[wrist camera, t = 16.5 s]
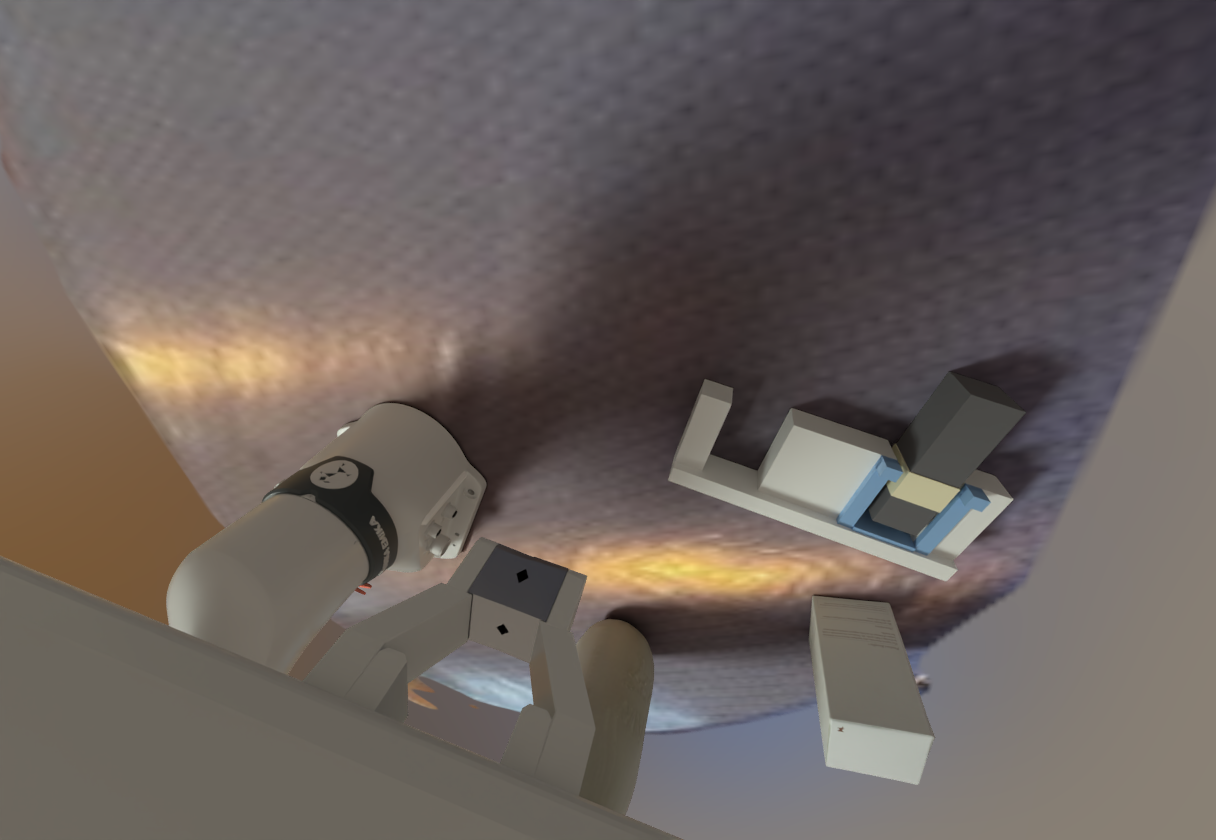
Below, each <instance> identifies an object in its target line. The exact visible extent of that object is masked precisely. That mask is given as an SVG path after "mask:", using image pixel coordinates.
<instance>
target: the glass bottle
mask: <svg viewBox="0 0 1216 840" xmlns="http://www.w3.org/2000/svg"><path fill="white" fill-rule="evenodd" d="M576 648H577V652H578V656H579V661H580V665H581V669H582V673H583V677H584V682H585V686H586V690H587V694H588V698H589V703H590V707H591V711H592V715H593V719H594V724H595V728H596V729H595V733H594V737H593V741H592V745H591V749H590V753H589V757H588V761H587V765H586V769H585V773H584V777H583V781H582V785H581V789H580V793H579V796H580V797H582V798H584V799H587V800H589V801H592V802H594V803H596V804H599V805H601V806H604V807H606V808H608V809H611V810H613V811H616V812H618V813H621V814H623V815H626V812H627V810H628V807H629V804H630V801H631V799H632V795H633V792H634V788H635V784H636V779H637V775H638V769H639V764H640V759H641V753H642V748H643V741H644V735H645V729H646V723H647V717H648V712H649V706H650V701H651V695H652V689H653V682H654V662H653V656H652V652H651V649H650V647H649V644H648V642H647V640H646V639H645V637H644V636H643V635H642V634H641V633H640V632H639V631H638V630H637V629H636V628H634V627H633V626H632V625H630V624H629V623H627V622H624V621H621V620H615V619H606V620H602V621H600V622H597V623H596V624H594V625H592V626H591V627H590V628H589V629H588V630H587V631H586V632H585V633H584V635H583V636H582V637H581V638H580V640H579V641H578V643H577V644H576Z"/></svg>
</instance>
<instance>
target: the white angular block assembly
mask: <svg viewBox="0 0 1216 840" xmlns="http://www.w3.org/2000/svg"><path fill="white" fill-rule="evenodd" d="M732 396H733V388H731V387H728V386H725V385H722V384H719V383H716V382H713V381H710V380H707V379H704V382H703V384H702V387H701V390H700V392H699V395H698V397H697V400H696V402H695V405H694V407H693V410H692V412H691V415H690V417H689V420H688V423H687V425H686V428H685V430H684V433H683V435H682V438H681V440H680V443H679V445H678V448H677V450H676V453H675V456H674V459H673V463H672V467H671V471H670V474H669V478H668V481H671V482H674V483H676V484H679V485H682V486H685V487H687V488H690V489H693V490H696V491H698V492H701V493H704V494H707V495H709V496H712V497H715V498H718V499H720V500H723V501H726V502H729V503H731V504H734V505H737V506H740V507H742V508H745V509H748V510H751V511H753V512H756V513H759V514H762V515H764V516H767V517H770V518H773V519H775V520H778V521H781V522H784V523H786V524H789V525H792V526H795V527H797V528H800V529H803V530H806V531H808V532H811V533H814V534H817V535H819V536H822V537H825V538H828V539H830V540H833V541H836V542H839V543H841V544H844V545H847V546H850V547H852V548H855V549H858V550H861V551H863V552H866V553H869V554H872V555H875V556H877V557H880V558H883V559H886V560H888V561H891V562H894V563H897V564H899V565H902V566H905V567H908V568H910V569H913V570H916V571H919V572H921V573H924V574H927V575H930V576H932V577H935V578H938V579H941V580H943V581H947V580H948V579H949V578H950V577H951V576H952V575H953V574H954V573H955V572H956V571H957V570H958V569H957V567H956V565H955V563H954V561H953V560H954V559H955V558H956V557H957V556H958V555H959V554H960V553H961V552H962V551H963V550H964V549H965V548H966V547H967V546H968V545H969V544H970V543H971V542H972V541H973V540H974V539H975V538H976V537H977V536H978V535H979V534H980V533H981V532H982V531H983V530H984V529H985V528H986V527H987V526H988V525H989V524H990V523H991V522H992V521H993V520H994V519H995V518H996V517H997V516H998V515H999V514H1000V513H1001V512H1002V511H1003V510H1004V509H1005V508H1006V507H1007V506H1008V505H1009V504H1010V503H1011V502H1012V501H1013V500H1014V499H1013V498H1012V497H1011V496H1010V494H1009V493H1008V492H1007V490H1006V489H1005V488H1004V487H1003V485H1002V484H1001V483H1000V481H999V480H998V479H997V477H996V476H994V475H991V474H988V473H985V472H982V471H979V470H976V469H975V471H974V472H973V473H972V474H971V475H970V476H969V477H968V478H967V480H966V481H965V482H964V483H963V484H962V485H961V486H960V491H959V492H958V493H957V494H956V495H955V497H954V498H953V499H952V500H951V501H950V502H949V503H948V504H947V506H946V507H945V508H944V509H943V510H942V511H941V512H940V513H939V512H937V513H936V515H935V516H934V517H933V518H932V519H931V520H930V521H929V522H928V524H927V525H926V526H925V527H924V528H923V529H922V530H921V531H920V533H919V534H918V535H917V536H914V535H911V534H909V533H906V532H903V531H900V530H897V529H895V528H892V527H889V526H886V525H884V524H881V523H878V522H875V521H872V518H871V515H870V512H869V509H868V506H869V505H870V504H871V502H872V501H873V500H874V498H875V497H876V496H877V494H878V493H879V492H880V490H881V489H882V488H883V486H884V485H885V484H886V482H887V481H888V480H890V481H892V482H895V483H896V482H897V480H898V479H899V478H900V476H901V475H902V474H903V470H902V468H901V466H900V464H899V462H898V460H897V458H896V456H895V454H894V452H893V450H892V448H891V446H890V444H889V442H888V440H886V439H883V438H880V437H877V436H874V435H871V434H868V433H865V432H863V431H860V430H857V429H854V428H851V427H848V426H845V425H842V424H839V423H836V422H833V421H830V420H827V419H824V418H821V417H818V416H815V415H812V414H809V413H806V412H803V411H800V410H797V409H794V408H791V409H790V411H789V413H788V415H787V416H786V418H785V420H784V422H783V424H782V426H781V428H780V429H779V431H778V433H777V435H776V437H775V439H774V441H773V443H772V444H771V446H770V448H769V450H768V452H767V454H766V456H765V457H764V459H763V461H762V463H761V465H760V467H759V469H758V471H757V470H754V469H751V468H748V467H745V466H742V465H740V464H737V463H734V462H731V461H728V460H725V459H723V458H720V457H717V456H714V455H711V454H710V452H711V450H712V447H713V445H714V443H715V441H716V438H717V436H718V434H719V432H720V429H721V427H722V425H723V423H724V421H725V418H726V416H727V414H728V412H729V409H730V407H731V405H732Z"/></svg>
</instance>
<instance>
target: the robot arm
mask: <svg viewBox="0 0 1216 840" xmlns="http://www.w3.org/2000/svg"><path fill="white" fill-rule="evenodd" d="M337 436H338V437H337V438H336V439H335V440H333V441H332V442H331V443H330V444H329V445H327V446H326V447H325V448H324V449H322V450H321V451H320V452H319V453H318V454H317V455H315V456H314V457H313V458H312V459H311V460H309V461H308V462H307V463H306V464H305V465H304V466H303V467H302V468H301V469H300V470H299V471H298V472H296V473H295V474H293V475H292V476H291V477H289V478H288V479H286V480H285V479H284V480H283V481H281V482H280V483H279V484H277V485H276V486H275V487H274V489H273V490H271V491H270V492H269V493H267V494H266V495H265V497H264V498H263V500H262V503H261V504H260V505H258V506H257V507H255V508H254V509H252V510H251V511H250V512H248V513H247V514H245V515H244V516H242V517H241V518H240V519H238V520H237V521H235V522H234V523H232V524H231V525H229V526H228V527H227V528H225V529H224V530H222V531H221V532H220V533H218V534H217V535H215V536H214V537H212V538H211V539H210V540H208V541H207V542H205V543H204V544H202V545H201V546H199V547H198V548H197V549H195V550H194V551H192V552H191V553H190V554H189V555H188V556H187V557H186V558H185V560H183V562H182V563H181V565H180V566H179V567H178V569H177V571H176V572H175V574H174V576H173V578H172V580H171V582H170V585H169V588H168V592H167V599H166V600H167V601H166V603H167V614H168V621H169V626H168V625H165V624H163V623H161V622H158V621H156V620H153V619H151V618H149V617H146V616H144V615H141V614H139V613H137V612H134V611H132V610H129V609H127V608H124V607H122V606H120V605H117V604H115V603H112V602H110V601H108V600H105V599H103V598H100V597H98V596H95V595H93V594H91V593H88V592H86V591H83V590H81V589H78V588H76V587H74V586H71V585H69V584H67V583H64V582H62V581H59V580H56V579H55V578H52V577H50V576H47V575H45V574H42V573H40V572H38V571H35V570H33V569H31V568H28V567H25V566H23V565H21V564H18V563H16V562H14V561H11V560H9V559H6V558H4V557H2V556H0V840H683V839H681V838H678V837H676V836H673V835H671V834H669V833H666V832H663V831H661V830H659V829H657V828H654V827H652V826H649V825H647V824H645V823H642V822H640V821H637V820H635V819H633V818H630V817H628V816H625V815H623V814H621V813H618V812H616V811H613V810H611V809H608V808H606V807H604V806H601V805H599V804H596V803H594V802H592V801H589V800H587V799H584V798H582V797H580V796H579V793H580V789H581V785H582V781H583V777H584V773H585V769H586V765H587V761H588V757H589V753H590V749H591V745H592V741H593V737H594V733H595V729H596V728H595V724H594V719H593V715H592V711H591V707H590V703H589V698H588V694H587V690H586V686H585V682H584V677H583V673H582V669H581V665H580V661H579V656H578V652H577V648H576V644H575V640H574V635H573V633H572V632H570V630H571V627H572V624H573V621H574V618H575V615H576V612H577V609H578V605H579V602H580V599H581V596H582V592H583V589H584V586H585V583H586V580H587V576H586V575H583V574H581V573H578V572H575V571H572V570H569V569H568V568H565V567H562V566H560V565H557V564H554V563H551V562H548V561H545V560H542V559H539V558H537V557H532V556H529V555H527V554H524V553H521V552H519V551H516V550H514V549H511V548H509V547H506V546H504V545H501V544H499V543H496V542H493V541H491V540H488V539H485V538H483V537H481V538H480V539H479V540H477V541H476V543H475V544H474V546H473V547H472V548H471V550H470V551H469V553H468V554H467V556H466V557H465V558H464V560H463V561H462V563H461V564H460V566H459V567H458V569H457V570H456V571H455V573H454V574H453V576H452V577H451V579H450V580H449V581H448V583H447V584H443V583H440V584H438V585H436V586H434V587H431V588H429V589H427V590H425V591H423V592H421V593H419V594H417V595H415V596H413V597H411V598H409V599H407V600H405V601H403V602H401V603H399V604H397V605H395V606H393V607H390V608H388V609H386V610H384V611H382V612H380V613H378V614H376V615H374V616H372V617H370V618H368V619H366V620H364V621H362V622H360V623H358V624H356V625H354V626H352V627H349V628H347V629H346V631H345V632H344V633H343V634H342V635H341V636H340V638H339V639H338V640H337V641H336V643H335V644H334V645H333V646H332V647H331V648H330V649H329V651H328V652H327V653H326V654H325V655H324V657H323V658H322V659H321V660H320V661H319V663H318V664H317V665H316V666H315V667H314V668H313V669H312V671H311V672H310V673H309V674H308V675H307V676H306V678H305V679H304V680H303V681H300V680H298V679H296V678H293V677H291V676H288V674H289V672H290V670H291V669H292V667H293V665H294V663H295V662H296V661H297V659H298V658H299V657H300V655H301V654H302V652H303V651H304V649H305V648H306V647H307V646H308V644H309V643H310V642H311V641H312V639H313V638H314V637H315V636H316V635H317V633H318V632H319V631H320V630H321V628H322V627H323V626H324V625H325V624H326V623H327V621H328V620H329V619H330V618H331V617H332V616H333V614H334V613H335V612H336V611H337V610H338V609H339V607H340V606H341V605H342V604H343V603H344V602H345V601H346V600H347V598H348V597H349V596H350V595H351V594H352V593H353V592H354V591H357V592H359V593H361V594H364V595H365V594H366V593H365V592H364V591H362V590H361V589H359V588H357V587H358V586H359V587H364V588H371V587H372V586H371V585H370V584H368V583H367V582H369V581H370V580H372V579H373V578H375V577H376V576H379V575H380V574H382V573H383V572H384V571H385V570H392V571H399V572H417V571H420V570H422V569H423V568H424V567H425V566H426V565H427V564H428V563H429V562H430V561H431V559H432V558H433V557H437V558H445V559H451V558H456V557H457V556H458V555H459V554H460V553H461V551H462V548H463V546H464V543H465V541H466V538H467V536H468V533H469V530H470V528H471V525H472V523H473V520H474V517H475V515H476V512H477V510H478V507H479V505H480V502H481V499H482V497H483V494H484V492H485V489H486V481H485V479H484V478H483V476H482V475H481V474H480V473H479V472H478V471H477V470H476V469H475V468H474V467H473V466H472V465H471V464H469V462H468V461H467V459H466V458H465V456H464V454H463V452H462V451H461V449H460V447H459V445H458V444H457V442H456V441H455V440H454V438H453V437H452V436H451V435H450V434H449V432H448V431H447V430H446V429H445V428H444V427H443V426H441V425H440V424H439V423H438V422H437V421H435V420H434V419H433V418H431V417H430V416H428V415H427V414H425V413H423V412H421V411H419V410H417V409H415V408H412V407H410V406H406V405H403V404H397V403H384V404H379V405H376V406H374V407H372V408H370V409H369V410H368V411H367V412H366V413H365V414H364V415H363V416H362V417H361V418H360V419H359V420H358V421H355V422H351V423H348V424H345V425H344V426H343V427H341V428H340V429H339V430H338V432H337ZM467 639H468V640H471V641H474V642H477V643H479V644H482V645H485V646H488V647H491V648H493V649H496V650H499V651H501V652H504V653H506V654H508V655H511V656H513V657H516V658H518V659H520V660H523V661H525V662H527V663H530V665H529V667H530V676H531V685H532V694H533V703H534V705H532V704H529V705H527V706H525V707H523V708H522V711H521V713H520V716H519V718H518V721H517V723H516V726H515V728H514V730H513V733H512V735H511V737H510V740H509V742H508V745H507V747H506V750H505V752H504V755H503V757H502V759H501V762H500V763H498V762H495V761H493V760H490V759H488V758H486V757H483V756H481V755H479V754H476V753H474V752H471V751H469V750H466V749H464V748H462V747H459V746H457V745H454V744H452V743H450V742H447V741H445V740H442V739H440V738H438V737H435V736H433V735H430V734H428V733H425V732H423V731H421V730H418V729H416V728H414V727H411V726H409V725H406V724H404V721H405V720H406V718H407V716H408V685H407V684H408V683H409V682H411V681H412V680H413V679H415V678H416V677H418V676H419V675H420V674H422V673H423V672H425V671H426V670H428V669H429V668H430V667H432V666H433V665H435V664H436V663H438V662H439V661H440V660H442V659H443V658H445V657H446V656H447V655H449V654H450V653H452V652H453V651H455V650H456V649H457V648H459V647H460V646H462V645H463V644H465V643H466V642H467Z"/></svg>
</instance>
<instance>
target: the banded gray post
mask: <svg viewBox="0 0 1216 840" xmlns="http://www.w3.org/2000/svg"><path fill="white" fill-rule="evenodd" d="M1025 413H1026V412H1025V411H1024V410H1023V409H1022V408H1021V407H1020V406H1019V405H1018V404H1016V403H1015V402H1014V401H1013V400H1012V399H1011V398H1010V397H1009V396H1008V395H1007V394H1006V393H1004V392H1003V391H1002V390H1001V389H1000V388H999V387H997V386H994V385H991V384H988V383H985V382H982V381H978V380H975V379H972V378H969V377H966V376H963V375H959V374H956V373H953V372H950V371H949V372H948V374H947V375H946V376H945V378H944V379H943V380H942V382H941V383H940V385H939V386H938V387H937V389H936V390H935V391H934V393H933V394H932V395H931V397H930V398H929V400H928V401H927V402H926V404H925V405H924V406H923V408H922V409H921V410H920V412H919V413H918V415H917V416H916V417H915V419H914V420H913V421H912V423H911V424H910V426H909V427H908V428H907V430H906V431H905V432H904V434H903V435H902V436H901V438H900V439H899V441H898V442H897V443H896V444H894V445H893V447H892V450H893V452H894V454H895V456H896V458H897V460H898V462H899V464H900V466H901V468H902V470H903V474H902V475H901V476H900V478H899V479H898V480H897V482H896V483H895V482H892V481H890V480H888V481H887V482H886V484H885V485H884V486H883V488H882V489H881V490H880V492H879V493H878V494H877V496H876V497H875V498H874V500H873V501H872V502H871V504H870V505H869V506H868V509H869V512H870V515H871V518H872V521H875V522H878V523H881V524H884V525H886V526H889V527H892V528H895V529H897V530H900V531H903V532H906V533H909V534H911V535H914V536H917V535H918V534H919V533H920V531H921V530H922V529H923V528H924V527H925V526H926V525H927V524H928V522H929V521H930V520H931V519H932V518H933V517H934V516H935V515H936V513H937V512H939V513H940V512H941V511H942V510H943V509H944V508H945V507H946V506H947V504H948V503H949V502H950V501H951V500H952V499H953V498H954V497H955V495H956V494H957V493H958V492H959V491H960V486H961V485H962V484H963V483H964V482H965V481H966V480H967V478H968V477H969V476H970V475H971V474H972V473H973V472H974V471H975V469H976V468H977V467H978V466H979V465H980V464H981V463H982V462H983V460H984V459H985V458H986V457H987V456H988V455H989V454H990V453H991V451H992V450H993V449H994V448H995V447H996V446H997V445H998V444H999V442H1000V441H1001V440H1002V439H1003V438H1004V437H1005V436H1006V434H1007V433H1008V432H1009V431H1010V430H1011V429H1012V428H1013V427H1014V425H1015V424H1016V423H1017V422H1018V421H1019V420H1020V419H1021V418H1022V416H1023V415H1024V414H1025Z"/></svg>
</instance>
